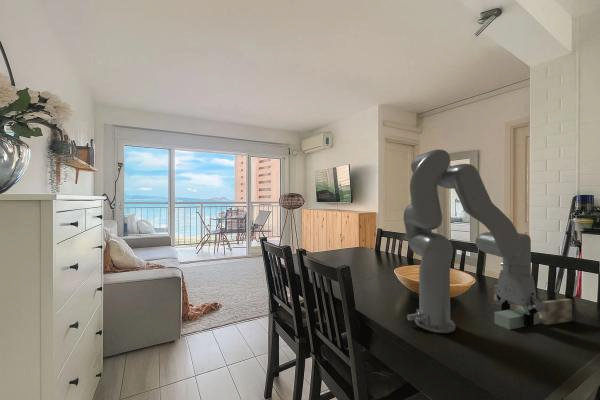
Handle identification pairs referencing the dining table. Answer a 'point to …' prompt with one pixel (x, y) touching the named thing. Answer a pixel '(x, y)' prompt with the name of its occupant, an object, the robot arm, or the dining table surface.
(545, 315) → the shelf frame
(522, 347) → the dining table surface
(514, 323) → the grey-green rectangular block
